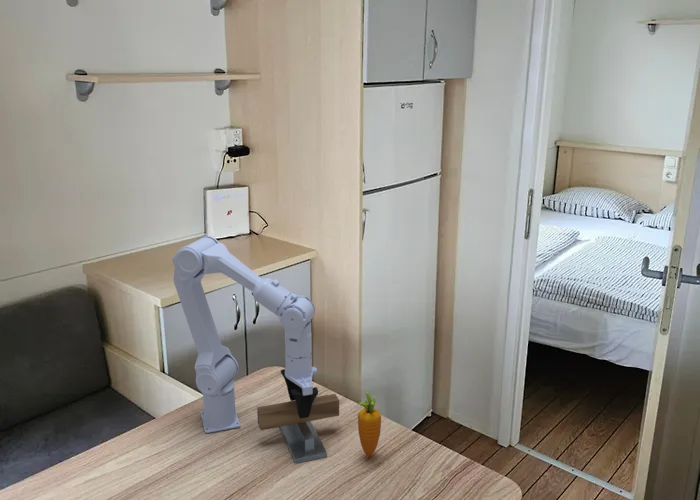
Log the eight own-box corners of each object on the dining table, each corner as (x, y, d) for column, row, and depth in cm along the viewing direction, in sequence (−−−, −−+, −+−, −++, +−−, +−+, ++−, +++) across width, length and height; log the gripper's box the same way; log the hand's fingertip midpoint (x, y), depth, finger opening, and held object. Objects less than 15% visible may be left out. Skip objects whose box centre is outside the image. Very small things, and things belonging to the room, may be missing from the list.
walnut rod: (257, 423, 140) (257, 407, 139) (335, 408, 146) (335, 393, 145) (260, 430, 138) (259, 414, 136) (339, 415, 143) (339, 400, 142)
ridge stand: (275, 418, 150) (275, 401, 149) (304, 413, 153) (303, 396, 151) (295, 463, 134) (294, 444, 133) (326, 456, 136) (326, 438, 135)
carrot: (378, 465, 134) (379, 402, 129) (355, 462, 135) (355, 400, 130) (381, 451, 138) (383, 390, 134) (359, 448, 139) (360, 388, 135)
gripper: (326, 364, 132) (326, 422, 136) (307, 336, 145) (307, 389, 149) (293, 370, 130) (294, 428, 134) (276, 340, 143) (278, 394, 147)
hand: (299, 408), depth 141 cm, fingers open, 7 cm apart
